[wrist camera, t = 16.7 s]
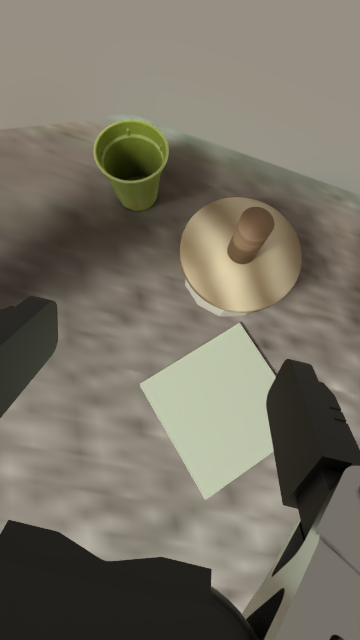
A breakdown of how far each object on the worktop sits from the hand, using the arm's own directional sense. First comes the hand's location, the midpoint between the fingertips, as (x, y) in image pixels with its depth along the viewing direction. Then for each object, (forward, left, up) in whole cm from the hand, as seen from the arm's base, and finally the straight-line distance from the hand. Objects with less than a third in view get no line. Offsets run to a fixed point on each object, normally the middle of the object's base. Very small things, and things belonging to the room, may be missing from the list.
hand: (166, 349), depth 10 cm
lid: (+15, +8, -23) cm, 29 cm away
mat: (+4, -7, -29) cm, 30 cm away
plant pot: (+10, +26, -29) cm, 40 cm away
